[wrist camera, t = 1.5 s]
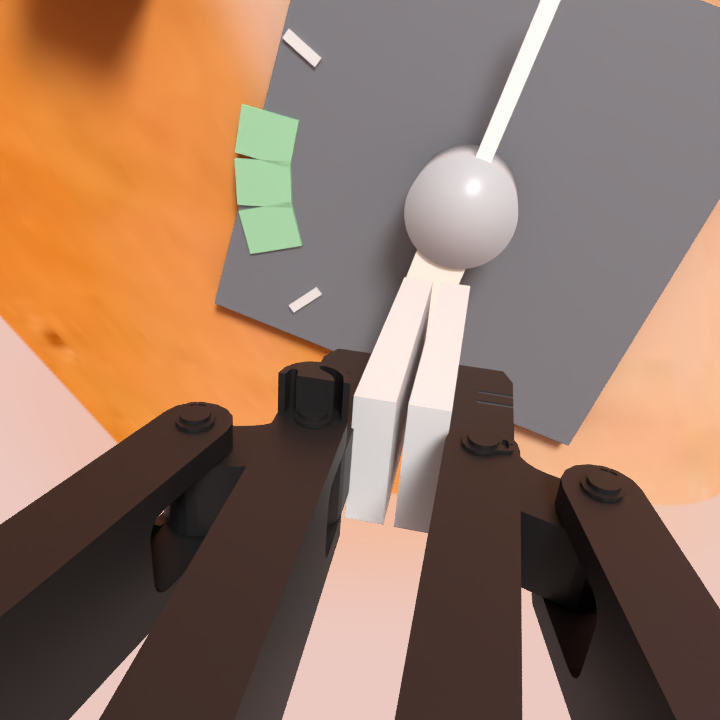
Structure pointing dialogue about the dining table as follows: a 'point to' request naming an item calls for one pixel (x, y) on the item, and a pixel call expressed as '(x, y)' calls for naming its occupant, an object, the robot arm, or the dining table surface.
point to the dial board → (517, 147)
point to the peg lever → (470, 187)
